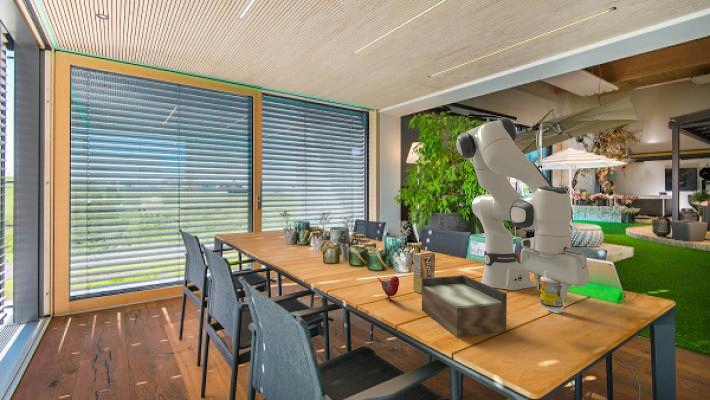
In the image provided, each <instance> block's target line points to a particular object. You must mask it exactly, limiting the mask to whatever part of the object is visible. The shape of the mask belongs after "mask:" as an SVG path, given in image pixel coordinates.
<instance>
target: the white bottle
mask: <svg viewBox="0 0 710 400" xmlns="http://www.w3.org/2000/svg"><path fill="white" fill-rule="evenodd" d="M545 309H546V311H548V312H552V313H554V314H561V313H563V312H564V311H565V298H563V308H561V309H548V308H545Z"/></svg>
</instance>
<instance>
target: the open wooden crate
mask: <svg viewBox="0 0 710 400" xmlns="http://www.w3.org/2000/svg"><path fill="white" fill-rule="evenodd" d="M507 295H508V294H507V293H506V292H504V291H501V290H499V289H498V288H493V287H490V286H488V285H486V284H483V283H481V281H479V280H476V279H474V278H472V277H469V276H467V275H465V274H462V275H448V276H436V277H431V278H422V293H421V311H422V312H423V313H425V315H427V316H428V317H429V318H431V319H432V320H433V321H435V322H436V323H437V324H439V325H440V326H442V327H443V328H444V329H445V330H447V331H448V332H449V333H451V334H452V336H454V337H456V338H463V337H470V336H481V335H486V334H487V335H489V334H495V333H503V332H507V314H508V313H507V310H508V309H507V304H508V303H507V302H508V301H507V298H508V297H507Z"/></svg>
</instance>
